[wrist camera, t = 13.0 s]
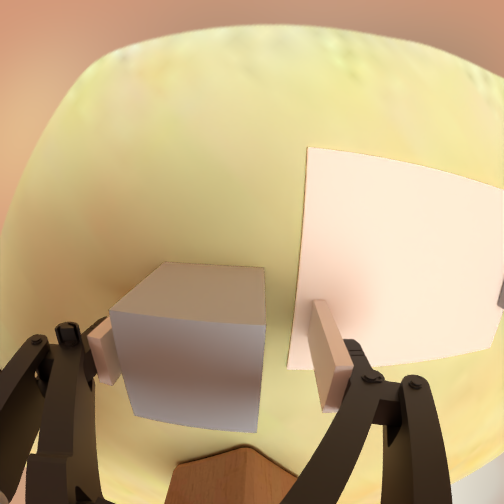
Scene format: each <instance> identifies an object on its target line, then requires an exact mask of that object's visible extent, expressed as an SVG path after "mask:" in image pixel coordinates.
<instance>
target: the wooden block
mask: <svg viewBox="0 0 504 504" xmlns="http://www.w3.org/2000/svg"><path fill="white" fill-rule="evenodd" d="M296 480H297V478H296V477H294V476H293V475H291V474H289V473H288V472H286V471H285V470H283V469H281V468H280V467H278V466H277V465H275V464H274V463H272V462H271V461H269V460H268V459H266V458H265V457H263V456H262V455H260V454H259V453H258V452H256V451H255V450H253V449H251V448H239V449H236V450H233V451H229V452H226V453H223V454H219V455H216V456H212V457H209V458H205V459H201V460H197V461H193V462H188V463H184V464H180V465H178V466H177V467H176V468H175V469H174V471H173V475H172V478H171V482H170V485H169V489H168V492H167V496H166V500H165V503H164V504H279V503H280V502H281V501H282V500H283V498H284V497H285V495H286V494H287V493H288V491H289V490H290V489H291V487H292V486H293V484H294V483H295V482H296Z"/></svg>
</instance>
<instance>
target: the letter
mask: <svg viewBox="0 0 504 504" xmlns="http://www.w3.org/2000/svg"><path fill="white" fill-rule="evenodd" d="M503 283H504V190H503V189H500V188H497V187H494V186H491V185H488V184H485V183H482V182H479V181H476V180H473V179H469V178H466V177H463V176H459V175H456V174H452V173H449V172H445V171H441V170H437V169H433V168H429V167H425V166H421V165H416V164H412V163H407V162H403V161H398V160H393V159H387V158H382V157H376V156H371V155H365V154H358V153H352V152H345V151H337V150H330V149H321V148H312V147H308V148H307V163H306V182H305V199H304V213H303V227H302V239H301V250H300V261H299V271H298V281H297V291H296V300H295V308H294V317H293V325H292V333H291V340H290V348H289V355H288V362H287V370H314V367H313V363H312V358H311V353H310V348H309V344H308V333H309V327H310V321H311V314H312V307H313V300H323V301H326V302H327V304H328V307H329V309H330V311H331V313H332V316H333V318H334V320H335V322H336V325H337V327H338V329H339V332H340V334H341V336H342V339H354V340H356V341H357V342H358V343H359V344H360V345H361V347H362V349H363V351H364V353H365V356H366V357H367V359H368V361H369V363H370V365H371V367H377V366H388V365H397V364H406V363H413V362H421V361H427V360H434V359H440V358H445V357H451V356H456V355H461V354H466V353H471V352H475V351H479V350H484V349H488V348H490V346H491V344H492V341H493V339H494V336H495V333H496V331H497V328H498V325H499V322H500V319H501V316H502V313H503V310H504V309H502V308H501V307H499V306H497V305H498V302H499V298H500V295H501V291H502V287H503Z"/></svg>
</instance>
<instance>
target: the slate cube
mask: <svg viewBox="0 0 504 504" xmlns="http://www.w3.org/2000/svg"><path fill="white" fill-rule="evenodd" d="M109 315H110V320H111V326H112V331H113V336H114V341H115V346H116V350H117V355H118V359H119V363H120V367H121V371H122V375H123V379H124V382H125V386H126V390H127V393H128V396H129V400H130V403H131V406H132V409H133V412H134V415H135V416H138V417H143V418H147V419H151V420H156V421H161V422H166V423H171V424H177V425H183V426H189V427H196V428H204V429H212V430H222V431H233V432H248V433H257V424H258V414H259V403H260V392H261V381H262V369H263V357H264V345H265V332H266V309H265V277H264V268H263V267H243V266H225V265H208V264H191V263H175V262H164V263H163V264H161V265H160V266H159V267H158V268H157V269H155V270H154V271H153V272H152V273H151V274H149V275H148V276H147V277H146V278H145V279H143V280H142V281H141V282H140V283H139V284H138V285H136V286H135V287H134V288H133V289H132V290H131V291H129V292H128V293H127V294H126V295H125V296H124V297H122V298H121V299H120V300H119V301H118V302H117V303H116V304H115V305H113V306H112V307H111V308H110V309H109Z"/></svg>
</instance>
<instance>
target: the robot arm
mask: <svg viewBox="0 0 504 504" xmlns="http://www.w3.org/2000/svg"><path fill="white" fill-rule="evenodd" d="M55 332H56V336H57V339H58V343H59V345H56V344H49V342H48V339H47V337H46V336H45V335H39V334H37V335H33V336H31V337H30V338H28V339H27V340H26V342H25V343H24V344H23V345H22V346H21V348H20V349H19V350H18V351H17V352H16V354H15V355H14V356H13V357H12V359H11V360H10V361H9V362H8V364H7V365H6V366H5V368H4V369H3V370H2V372H1V371H0V504H9V503H10V502H11V500H12V498H13V496H14V494H15V493H16V490H17V487H18V485H19V482H20V479H21V476H22V473H23V470H24V467H25V464H26V462H27V471H26V494H25V496H26V497H25V498H26V499H25V501H26V504H115V503H112V502H110V501H107V500H105V499H104V497H103V495H102V492H101V486H100V479H99V471H98V461H97V450H96V434H95V382H94V379H93V377H94V376H95V375H96V374H97V375H98V378H99V381H100V382H101V383H104V384H108V385H111V386H113V384H114V383H115V382H116V380H117V379H118V378H119V376H120V375H121V373H122V371H121V367H120V363H119V359H118V355H117V350H116V346H115V341H114V336H113V331H112V326H111V320H110V316H109V317H103V318H101V319H99V320H98V321H96V322H95V323H94V325H92V326H91V327H90V328H88V329H87V330H86V331H85V332H84V333H82V334H81V333H80V329H79V325H78V324H77V323H74V322H64V323H61V324H59V325H58V326H56V328H55ZM308 344H309V348H310V353H311V358H312V363H313V367H314V372H315V377H316V382H317V387H318V393H319V398H320V403H321V408H322V413H332V412H337V414H336V416H335V418H334V419H333V421H332V423H331V425H330V427H329V429H328V430H327V432H326V434H325V436H324V437H323V439H322V441H321V443H320V444H319V446H318V448H317V449H316V451H315V453H314V454H313V456H312V457H311V459H310V461H309V462H308V464H307V465H306V467H305V468H304V470H303V471H302V473H301V474H300V476H299V477H298V479H297V480H296V482H295V483H294V484H293V486H292V487H291V489H290V490H289V491H288V493H287V494H286V495H285V497H284V498H283V500H282V501H281V502H280V503H279V504H336V503H337V501H338V499H339V497H340V495H341V493H342V491H343V489H344V487H345V485H346V483H347V481H348V479H349V477H350V475H351V473H352V471H353V469H354V466H355V464H356V462H357V459H358V457H359V455H360V452H361V450H362V447H363V445H364V442H365V440H366V437H367V435H368V432H369V429H370V426H371V424H378V425H383V476H382V493H381V504H452V495H451V485H450V477H449V470H448V464H447V458H446V452H445V447H444V442H443V437H442V432H441V428H440V424H439V419H438V415H437V411H436V407H435V404H434V400H433V396H432V393H431V389H430V386H429V383H428V382H427V380H426V379H424V378H423V377H421V376H418V375H408V376H405V377H404V378H403V379H402V382H401V383H396V382H389V381H385V378H384V376H383V375H382V374H381V373H380V372H378V371H375V370H373V369H372V367H371V365H370V363H369V361H368V359H367V357H366V356H365V353H364V351H363V349H362V347H361V345H360V344H359V343H358V342H357V341H356V340H354V339H342V336H341V334H340V332H339V329H338V327H337V325H336V322H335V320H334V318H333V316H332V313H331V311H330V309H329V307H328V304H327V302H326V301H323V300H313V307H312V314H311V321H310V327H309V333H308ZM35 371H36V372H37V374H38V376H37V378H35ZM39 429H40V432H39V440H38V449H37V453H36V454H30V455H29V453H30V451H31V448H32V446H33V443H34V441H35V438H36V436H37V434H38V431H39Z"/></svg>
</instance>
